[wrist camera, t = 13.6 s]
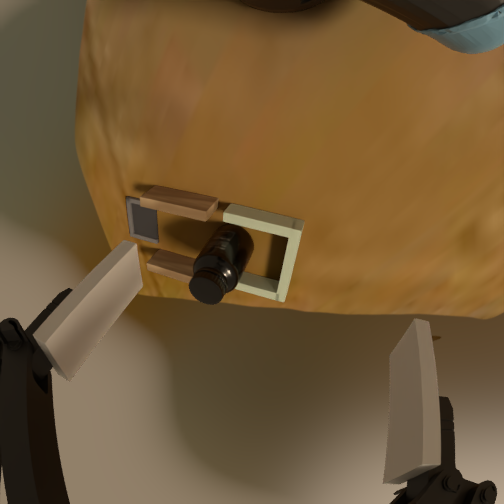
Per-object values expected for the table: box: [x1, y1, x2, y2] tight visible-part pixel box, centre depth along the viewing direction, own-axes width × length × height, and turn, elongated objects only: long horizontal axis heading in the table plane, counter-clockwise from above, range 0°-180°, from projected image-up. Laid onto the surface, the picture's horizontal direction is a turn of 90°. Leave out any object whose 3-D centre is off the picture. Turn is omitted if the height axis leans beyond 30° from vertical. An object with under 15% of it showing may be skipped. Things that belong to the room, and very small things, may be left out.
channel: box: [140, 185, 218, 283], centre depth 48 cm, size 14×11×4 cm
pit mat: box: [126, 196, 159, 244], centre depth 51 cm, size 8×6×1 cm
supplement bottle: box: [189, 225, 254, 305], centre depth 43 cm, size 7×7×12 cm
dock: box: [223, 203, 304, 302], centre depth 46 cm, size 14×11×3 cm
